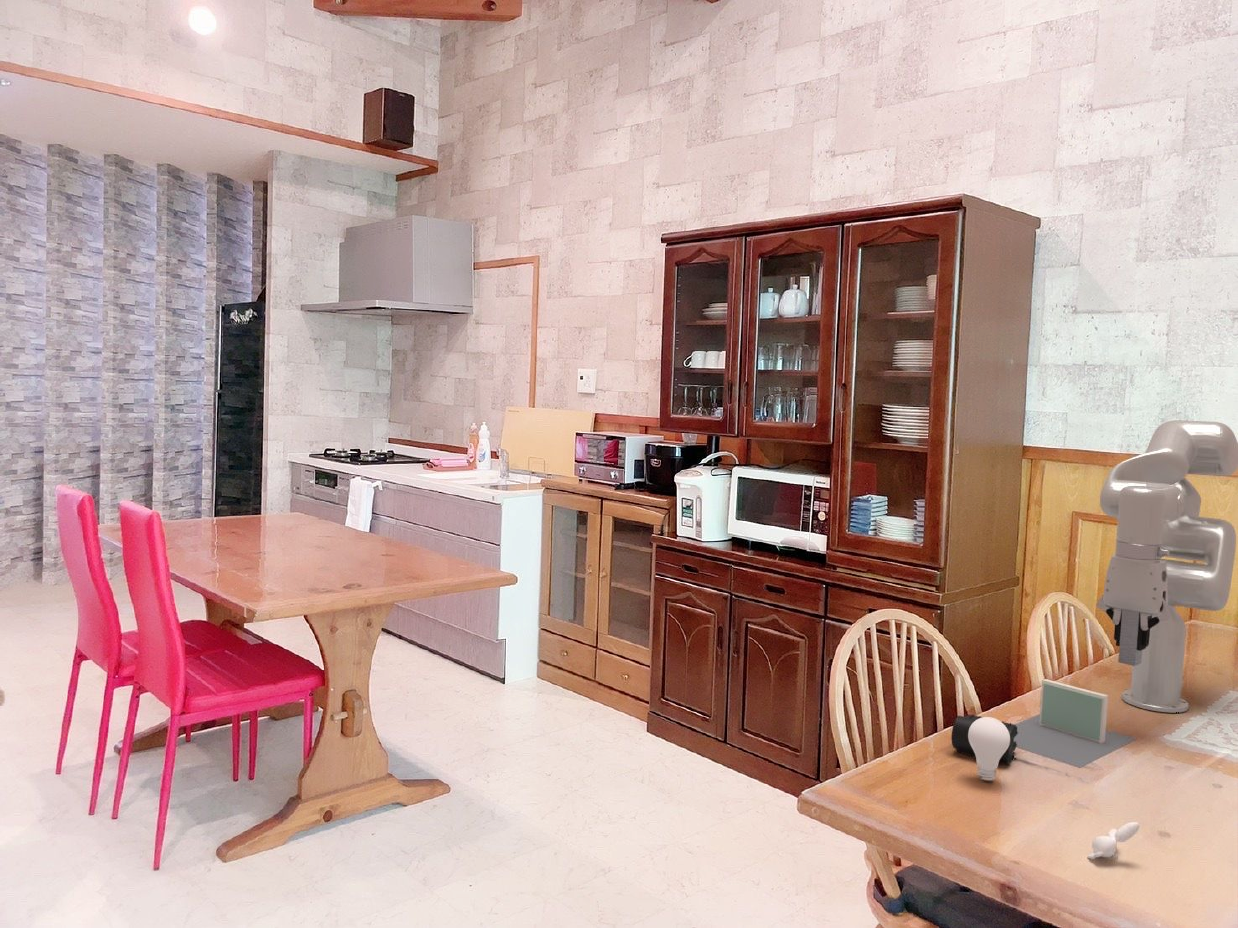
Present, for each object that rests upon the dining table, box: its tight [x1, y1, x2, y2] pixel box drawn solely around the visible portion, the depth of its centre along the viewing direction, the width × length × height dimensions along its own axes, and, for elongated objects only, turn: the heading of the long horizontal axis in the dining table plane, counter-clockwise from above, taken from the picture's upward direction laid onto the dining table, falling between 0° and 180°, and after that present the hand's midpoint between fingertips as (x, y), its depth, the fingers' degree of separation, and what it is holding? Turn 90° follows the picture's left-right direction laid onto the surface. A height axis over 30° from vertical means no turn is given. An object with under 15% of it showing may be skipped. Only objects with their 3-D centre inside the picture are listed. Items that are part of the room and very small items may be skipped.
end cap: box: [951, 714, 1018, 765], centre depth 172 cm, size 10×7×7 cm
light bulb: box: [968, 716, 1010, 783], centre depth 161 cm, size 7×7×11 cm
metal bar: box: [1118, 610, 1142, 666], centre depth 180 cm, size 3×3×12 cm
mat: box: [1014, 713, 1138, 769], centre depth 180 cm, size 24×18×1 cm
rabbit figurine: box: [1087, 821, 1140, 860], centre depth 135 cm, size 6×4×8 cm
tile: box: [1039, 678, 1109, 743], centre depth 182 cm, size 2×12×9 cm, turn 39°
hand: (1130, 646), depth 180 cm, fingers closed on metal bar, 3 cm apart
